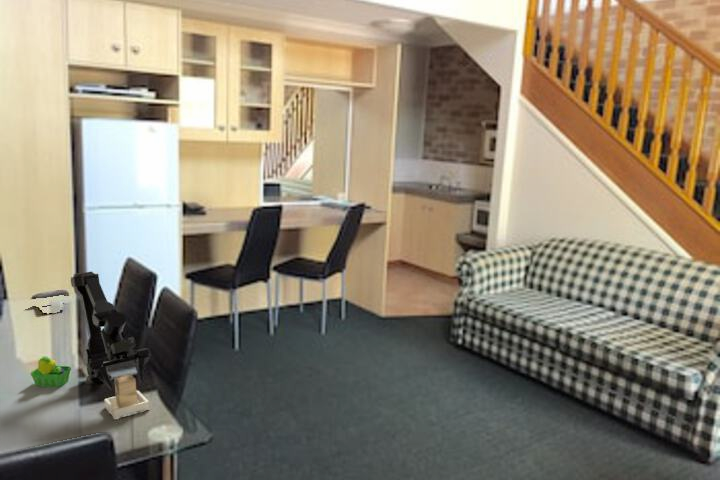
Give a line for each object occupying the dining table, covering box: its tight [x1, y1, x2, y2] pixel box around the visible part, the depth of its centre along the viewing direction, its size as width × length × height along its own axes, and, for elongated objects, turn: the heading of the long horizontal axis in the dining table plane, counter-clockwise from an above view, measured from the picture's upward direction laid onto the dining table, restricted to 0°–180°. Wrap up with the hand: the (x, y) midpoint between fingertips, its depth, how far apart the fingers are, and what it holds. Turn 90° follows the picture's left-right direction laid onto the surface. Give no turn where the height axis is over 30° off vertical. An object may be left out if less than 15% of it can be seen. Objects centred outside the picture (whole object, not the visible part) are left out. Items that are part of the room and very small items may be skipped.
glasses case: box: [30, 289, 70, 300], centre depth 302 cm, size 18×10×8 cm, turn 136°
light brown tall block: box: [113, 373, 137, 409], centre depth 187 cm, size 5×5×10 cm
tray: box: [104, 389, 150, 419], centre depth 187 cm, size 11×11×3 cm
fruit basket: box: [29, 356, 72, 388], centre depth 205 cm, size 11×9×11 cm
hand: (126, 385), depth 185 cm, fingers open, 9 cm apart
